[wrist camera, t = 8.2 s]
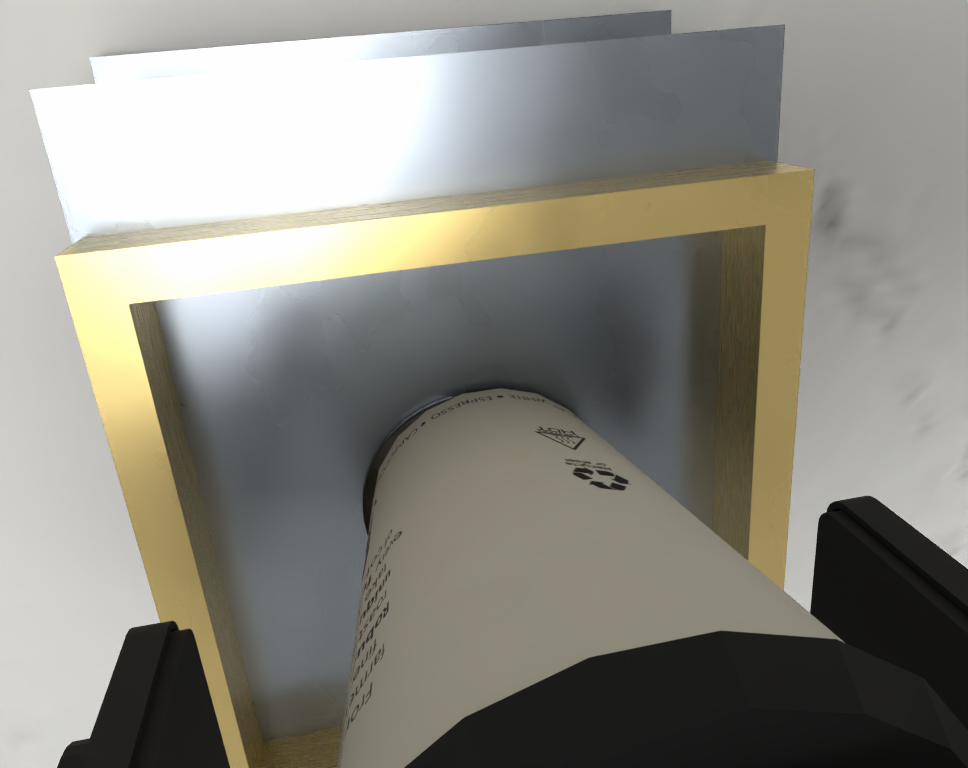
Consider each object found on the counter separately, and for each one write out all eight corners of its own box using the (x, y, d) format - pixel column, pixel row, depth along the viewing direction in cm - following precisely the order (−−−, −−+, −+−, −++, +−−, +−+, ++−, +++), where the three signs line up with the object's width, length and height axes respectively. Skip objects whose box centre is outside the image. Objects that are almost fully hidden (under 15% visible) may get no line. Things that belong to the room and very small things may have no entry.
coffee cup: (231, 544, 15) (70, 1319, 6) (466, 247, 14) (758, 607, 4) (511, 695, 17) (720, 1401, 8) (730, 456, 16) (1270, 966, 7)
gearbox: (98, 58, 18) (-76, 45, 10) (711, 8, 20) (962, -35, 12) (247, 664, 24) (211, 944, 16) (697, 579, 26) (854, 791, 19)
